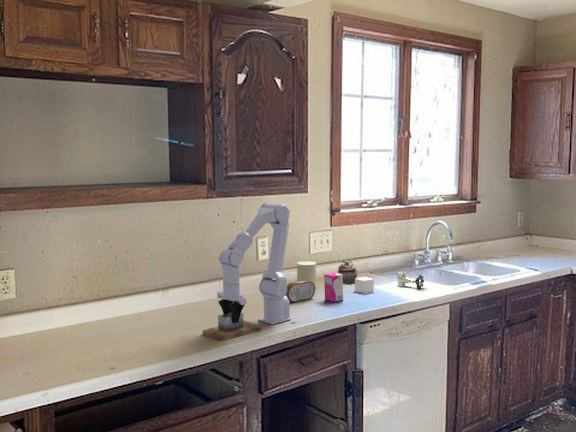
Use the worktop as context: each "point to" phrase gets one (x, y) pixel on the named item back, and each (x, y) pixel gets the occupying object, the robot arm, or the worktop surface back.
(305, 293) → the tin
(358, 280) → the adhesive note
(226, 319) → the block
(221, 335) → the stand
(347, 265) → the cupcake
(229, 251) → the robot arm
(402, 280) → the valve
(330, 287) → the supplement box
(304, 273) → the can
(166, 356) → the worktop surface
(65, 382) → the worktop surface
